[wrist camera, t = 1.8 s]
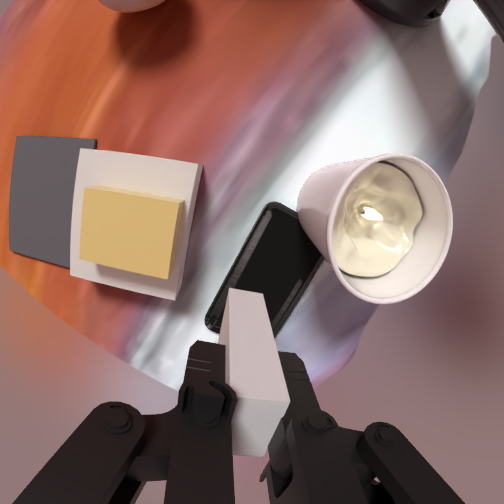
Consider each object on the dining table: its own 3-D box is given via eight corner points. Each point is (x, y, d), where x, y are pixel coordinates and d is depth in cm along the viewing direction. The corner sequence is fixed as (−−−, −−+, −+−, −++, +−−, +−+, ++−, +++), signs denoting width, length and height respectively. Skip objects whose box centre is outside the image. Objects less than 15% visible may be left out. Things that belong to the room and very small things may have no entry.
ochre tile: (184, 199, 22) (179, 203, 20) (173, 268, 24) (167, 279, 21) (97, 184, 21) (84, 187, 19) (91, 250, 23) (79, 259, 20)
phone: (201, 325, 29) (270, 198, 26) (202, 320, 30) (268, 196, 27) (265, 352, 31) (338, 236, 27) (264, 346, 32) (334, 234, 29)
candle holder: (386, 171, 27) (464, 178, 15) (366, 259, 29) (429, 308, 18) (298, 147, 25) (346, 132, 14) (279, 245, 28) (310, 298, 17)
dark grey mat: (97, 139, 24) (94, 139, 23) (83, 269, 27) (81, 271, 27) (19, 136, 22) (16, 136, 22) (11, 249, 26) (9, 250, 25)
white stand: (203, 164, 25) (198, 164, 22) (182, 283, 29) (175, 300, 25) (99, 149, 24) (80, 148, 20) (87, 262, 27) (70, 275, 23)
